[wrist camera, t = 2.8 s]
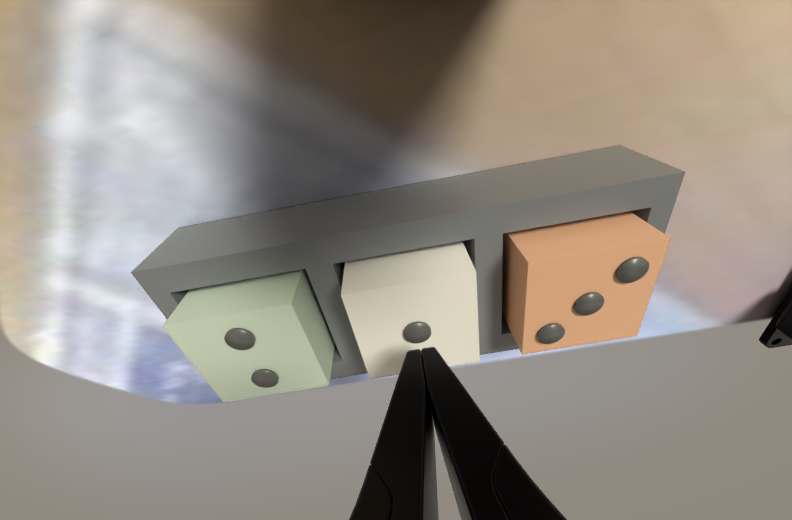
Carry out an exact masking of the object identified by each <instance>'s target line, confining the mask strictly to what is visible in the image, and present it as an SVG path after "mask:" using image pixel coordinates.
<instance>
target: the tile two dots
mask: <svg viewBox="0 0 792 520" xmlns="http://www.w3.org/2000/svg"><path fill="white" fill-rule="evenodd" d="M163 328H164V329H165V330H166V331H167V333H168V334H169V335H170V336H171V338H172V339H173V340H174V341H175V343H176V344H177V345H178V346H179V348H180V349H181V350H182V351H183V353H184V354H185V355H186V356H187V358H188V359H189V360H190V361H191V363H192V364H193V365H194V366H195V368H196V369H197V370H198V371H199V372H200V374H201V375H202V376H203V377H204V379H205V380H206V381H207V382H208V384H209V385H210V386H211V387H212V389H213V390H214V391H215V392H216V394H217V395H218V396H219V397H220V399H221V400H222V401H223V402H231V401H237V400H243V399H249V398H255V397H262V396H268V395H274V394H280V393H286V392H293V391H299V390H305V389H311V388H317V387H324V386H329V385H330V377H331V369H332V361H333V353H334V345H335V341H334V339H333V336H332V334H331V331H330V329H329V326H328V324H327V321H326V319H325V316H324V314H323V311H322V309H321V306H320V304H319V301H318V299H317V296H316V294H315V291H314V289H313V286H312V284H311V281H310V279H309V276H308V274H307V272H306V269H301V270H296V271H290V272H284V273H279V274H273V275H268V276H262V277H256V278H251V279H245V280H239V281H234V282H228V283H223V284H217V285H211V286H206V287H200V288H194V289H190V290H189V291H188V293H187V294H186V295H185V297H184V298H183V299H182V301H181V302H180V303H179V305H178V306H177V307H176V309H175V310H174V311H173V313H172V314H171V315H170V317H169V318H168V319H167V321H166V322H165V323H164V325H163Z"/></svg>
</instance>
